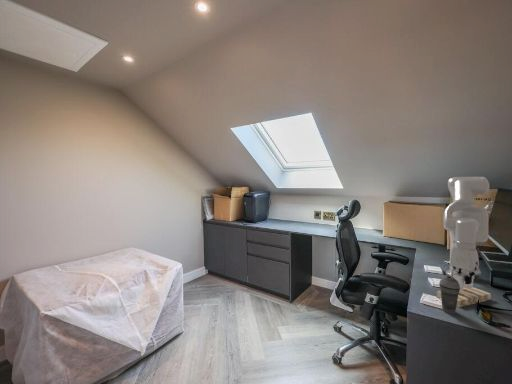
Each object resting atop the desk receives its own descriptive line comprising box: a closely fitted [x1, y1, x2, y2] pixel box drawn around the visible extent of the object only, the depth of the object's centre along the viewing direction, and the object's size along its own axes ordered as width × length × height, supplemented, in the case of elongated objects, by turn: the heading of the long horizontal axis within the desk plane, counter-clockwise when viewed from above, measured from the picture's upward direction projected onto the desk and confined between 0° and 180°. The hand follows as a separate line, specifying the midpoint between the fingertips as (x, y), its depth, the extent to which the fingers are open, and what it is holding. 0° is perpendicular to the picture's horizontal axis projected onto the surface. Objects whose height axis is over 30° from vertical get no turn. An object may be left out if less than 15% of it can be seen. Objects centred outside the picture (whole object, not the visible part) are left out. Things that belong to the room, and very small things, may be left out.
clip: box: [453, 272, 475, 291], centre depth 118 cm, size 10×3×7 cm, turn 107°
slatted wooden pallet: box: [436, 285, 492, 308], centre depth 118 cm, size 22×10×3 cm, turn 107°
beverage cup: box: [438, 268, 460, 315], centre depth 106 cm, size 7×7×20 cm
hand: (463, 282), depth 118 cm, fingers closed on clip, 3 cm apart
